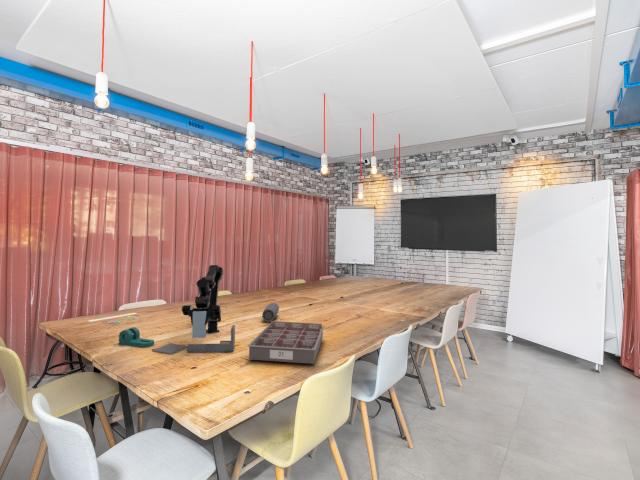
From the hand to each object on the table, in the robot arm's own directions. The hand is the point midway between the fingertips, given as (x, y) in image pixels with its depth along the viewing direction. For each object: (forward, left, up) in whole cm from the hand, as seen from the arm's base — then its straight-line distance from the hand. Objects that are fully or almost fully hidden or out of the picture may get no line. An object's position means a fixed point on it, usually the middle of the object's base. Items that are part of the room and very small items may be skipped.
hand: (198, 324), depth 167 cm
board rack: (+2, +6, -13) cm, 15 cm away
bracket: (-27, -24, -14) cm, 39 cm away
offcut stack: (+5, +12, -14) cm, 19 cm away
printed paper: (-86, -26, -14) cm, 91 cm away
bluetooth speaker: (-41, +60, -14) cm, 74 cm away
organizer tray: (+21, +40, -14) cm, 48 cm away
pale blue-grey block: (-1, +1, -7) cm, 7 cm away
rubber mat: (-10, -11, -13) cm, 20 cm away
